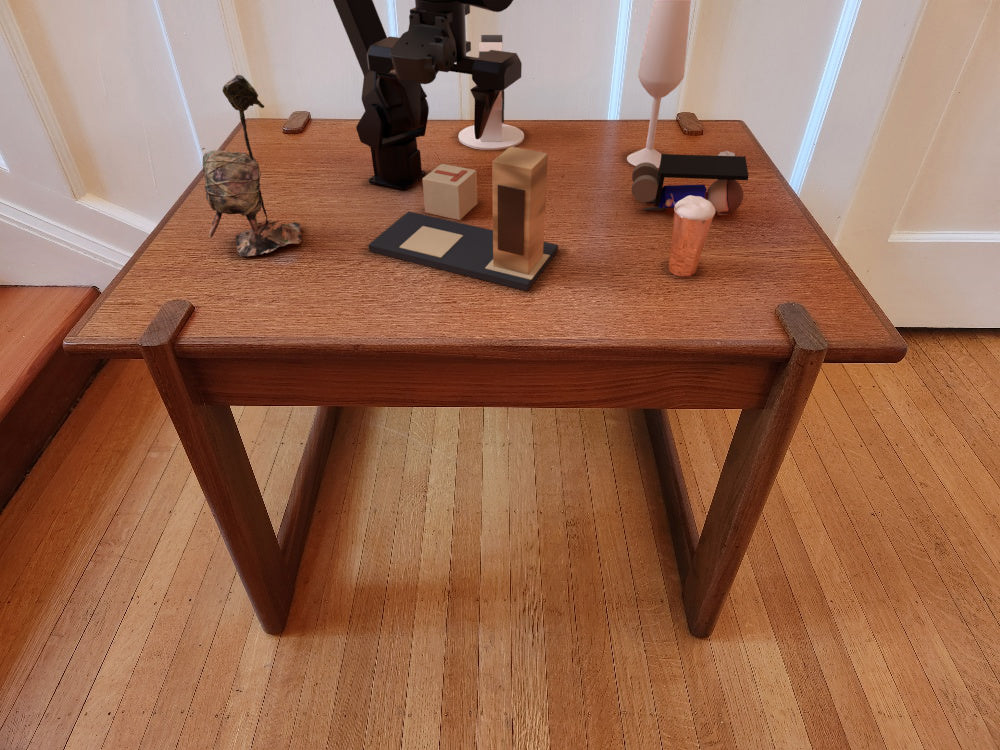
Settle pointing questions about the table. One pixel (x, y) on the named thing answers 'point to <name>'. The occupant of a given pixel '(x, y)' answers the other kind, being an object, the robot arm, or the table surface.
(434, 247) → the word mat
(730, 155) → the game die
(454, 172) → the cream letter cube
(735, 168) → the toy vehicle
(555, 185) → the table surface
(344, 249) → the table surface
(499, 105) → the white post on disc
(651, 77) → the champagne flute
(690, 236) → the milkshake
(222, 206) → the bird sculpture
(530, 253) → the maple letter block
